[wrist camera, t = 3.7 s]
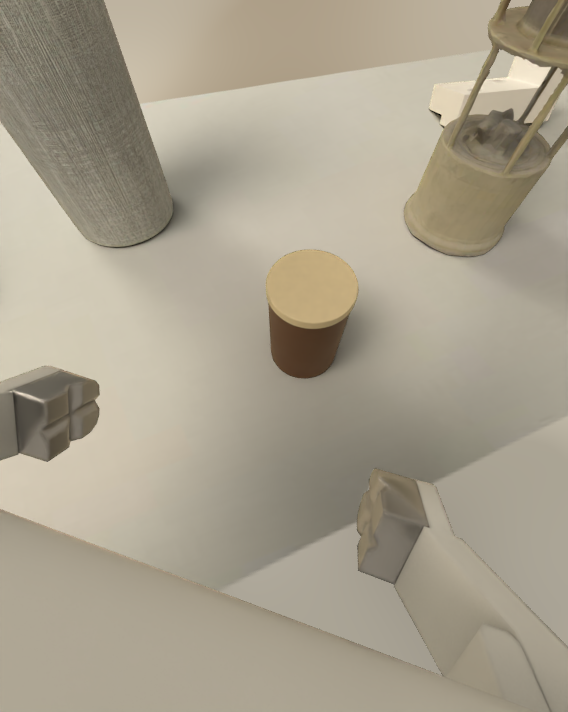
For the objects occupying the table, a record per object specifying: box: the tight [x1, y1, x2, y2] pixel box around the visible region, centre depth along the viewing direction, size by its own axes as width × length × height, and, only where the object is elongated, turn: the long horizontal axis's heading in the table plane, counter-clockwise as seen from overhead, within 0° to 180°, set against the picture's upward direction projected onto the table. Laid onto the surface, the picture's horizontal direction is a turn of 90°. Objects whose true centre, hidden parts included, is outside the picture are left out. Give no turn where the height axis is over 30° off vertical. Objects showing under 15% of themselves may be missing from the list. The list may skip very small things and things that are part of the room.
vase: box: [0, 0, 173, 247], centre depth 21 cm, size 10×10×27 cm
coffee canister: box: [266, 250, 358, 378], centre depth 23 cm, size 6×6×8 cm
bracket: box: [429, 56, 563, 126], centre depth 40 cm, size 13×7×8 cm, turn 101°
